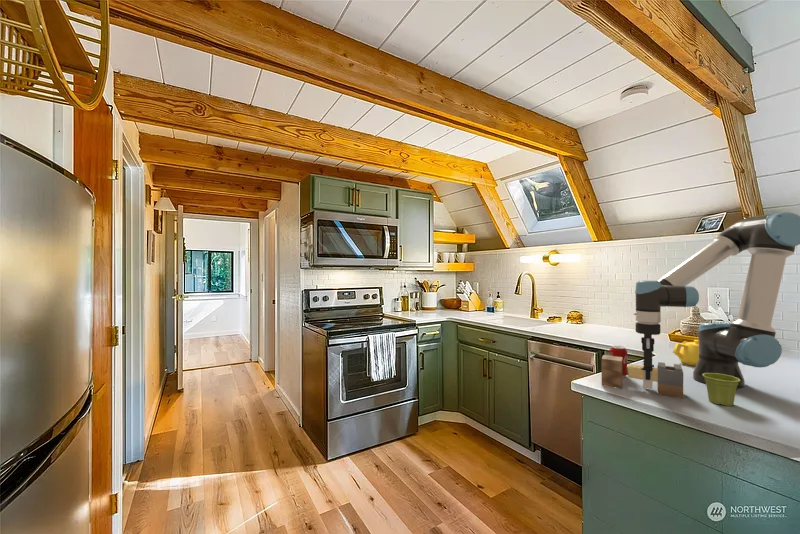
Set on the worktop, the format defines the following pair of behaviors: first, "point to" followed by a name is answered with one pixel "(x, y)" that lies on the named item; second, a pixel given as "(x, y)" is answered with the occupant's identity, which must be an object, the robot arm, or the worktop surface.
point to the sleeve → (670, 380)
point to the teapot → (688, 352)
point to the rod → (640, 372)
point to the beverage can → (620, 352)
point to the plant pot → (721, 388)
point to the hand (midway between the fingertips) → (647, 386)
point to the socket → (612, 371)
